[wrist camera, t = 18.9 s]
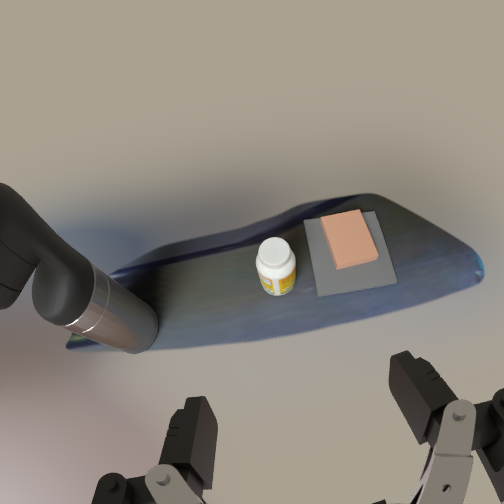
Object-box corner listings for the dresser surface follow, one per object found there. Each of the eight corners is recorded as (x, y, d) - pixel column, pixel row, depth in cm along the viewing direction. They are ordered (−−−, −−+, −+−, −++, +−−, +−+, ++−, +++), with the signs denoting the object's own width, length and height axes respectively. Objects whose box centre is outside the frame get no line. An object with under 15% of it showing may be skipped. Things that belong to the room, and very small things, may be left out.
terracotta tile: (378, 255, 41) (359, 209, 45) (337, 265, 41) (320, 217, 46) (376, 260, 42) (357, 214, 47) (336, 270, 43) (320, 222, 47)
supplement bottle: (260, 296, 43) (250, 270, 35) (262, 264, 46) (254, 232, 37) (295, 296, 42) (295, 270, 34) (296, 264, 45) (295, 232, 36)
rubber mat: (317, 296, 42) (318, 295, 41) (303, 222, 48) (303, 220, 48) (396, 283, 40) (397, 281, 40) (373, 213, 47) (374, 211, 47)
